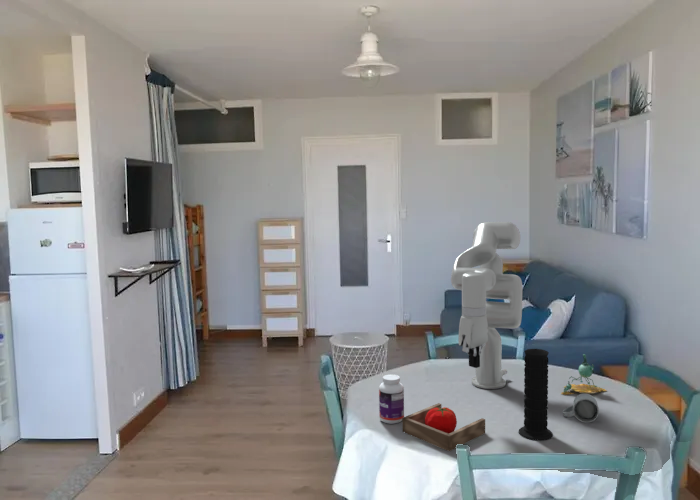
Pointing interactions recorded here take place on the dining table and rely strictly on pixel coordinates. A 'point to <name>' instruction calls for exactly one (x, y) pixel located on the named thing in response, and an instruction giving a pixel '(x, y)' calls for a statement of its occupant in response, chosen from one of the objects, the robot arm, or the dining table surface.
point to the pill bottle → (391, 399)
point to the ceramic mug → (583, 408)
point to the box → (446, 441)
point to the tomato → (441, 419)
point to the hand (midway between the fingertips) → (474, 366)
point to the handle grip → (536, 396)
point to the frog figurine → (585, 372)
